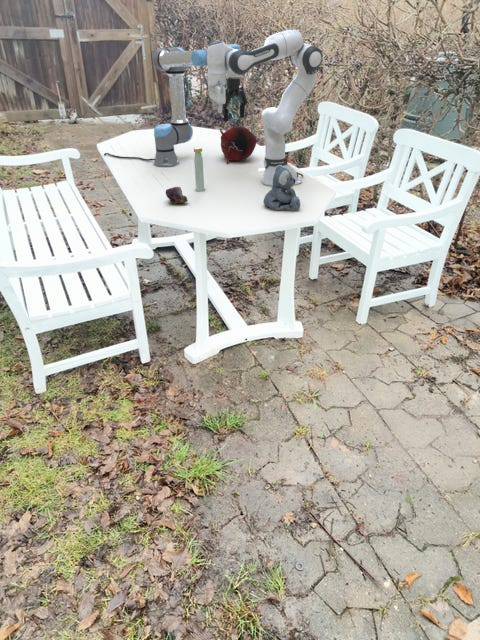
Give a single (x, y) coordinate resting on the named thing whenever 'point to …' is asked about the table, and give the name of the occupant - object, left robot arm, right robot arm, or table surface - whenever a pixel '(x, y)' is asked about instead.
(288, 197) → the koala plush
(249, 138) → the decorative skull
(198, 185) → the bottle
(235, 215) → the table surface
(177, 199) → the rock
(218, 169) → the table surface
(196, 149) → the cap
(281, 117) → the right robot arm
